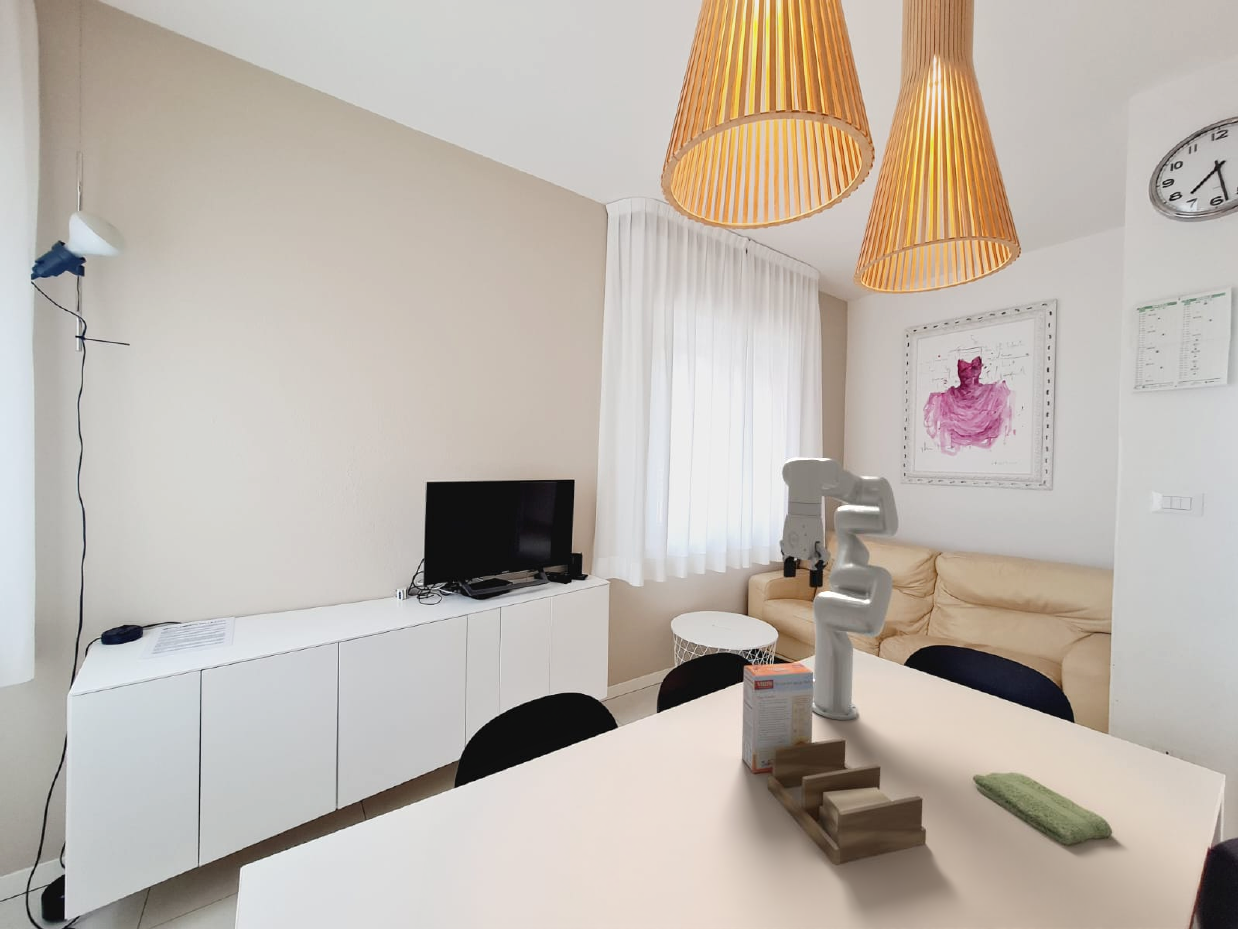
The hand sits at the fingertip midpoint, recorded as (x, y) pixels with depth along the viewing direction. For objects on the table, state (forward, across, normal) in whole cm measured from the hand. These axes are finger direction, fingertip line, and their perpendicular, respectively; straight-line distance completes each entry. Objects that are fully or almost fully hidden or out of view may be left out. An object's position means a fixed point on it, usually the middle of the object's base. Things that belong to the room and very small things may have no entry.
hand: (802, 581), depth 115 cm
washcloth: (+39, +30, +32) cm, 59 cm away
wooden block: (+38, +27, -7) cm, 48 cm away
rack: (+38, +22, -7) cm, 45 cm away
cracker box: (+38, +6, -10) cm, 40 cm away
